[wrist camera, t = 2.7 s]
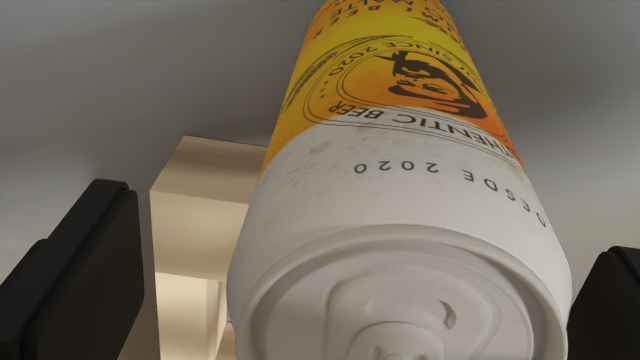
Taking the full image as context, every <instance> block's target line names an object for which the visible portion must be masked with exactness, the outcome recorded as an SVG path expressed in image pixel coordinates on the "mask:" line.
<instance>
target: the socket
mask: <svg viewBox="0 0 640 360" xmlns="http://www.w3.org/2000/svg"><path fill="white" fill-rule="evenodd" d="M267 150H268V147H262V146H255V145H248V144H241V143H235V142H228V141H221V140H214V139H207V138H200V137H193V136H186V135H184V136H183V138H182V140H181V141H180V143H179V144H178V146H177V148H176V149H175V151H174V152H173V154H172V155H171V157H170V159H169V160H168V162H167V163H166V165H165V166H164V168H163V170H162V171H161V173H160V174H159V176H158V178H157V179H156V181H155V182H154V184H153V185H152V187H151V189H150V190H149V191H150V206H151V221H152V236H153V251H154V266H155V281H156V296H157V311H158V326H159V341H160V356H161V360H237V359H236V354H235V332H234V329H233V326H232V323H230V322H226V316H227V301H226V282H227V273H228V270H229V266H230V262H231V259H232V256H233V253H234V250H235V247H236V244H237V241H238V238H239V235H240V232H241V228H242V225H243V222H244V219H245V216H246V213H247V210H248V207H249V204H250V201H251V198H252V195H253V192H254V189H255V186H256V183H257V180H258V177H259V174H260V171H261V168H262V165H263V162H264V159H265V156H266V153H267Z"/></svg>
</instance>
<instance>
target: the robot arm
mask: <svg viewBox="0 0 640 360" xmlns="http://www.w3.org/2000/svg"><path fill="white" fill-rule="evenodd" d="M143 298H144V277H143V264H142V251H141V237H140V224H139V211H138V198H137V193H136V191H134V190H129V187H128V185H127V183H126V182H121V181H113V180H106V179H95V180H93V181H92V183H91V184H90V185H89V186H88V188H87V189H86V190H85V191H84V193H83V194H82V195H81V196H80V198H79V199H78V200H77V202H76V203H75V204H74V205H73V207H72V208H71V209H70V210H69V212H68V213H67V214H66V215H65V217H64V218H63V219H62V221H61V222H60V223H59V224H58V226H57V227H56V228H55V229H54V231H53V232H52V233H51V234H50V236H49V237H48V238H47V239H41V240H39V241H37V242H36V243H35V244H34V245H33V246H32V247H31V248H30V249H29V251H28V252H27V253H26V254H25V256H24V257H23V258H22V259H21V261H20V262H19V263H18V264H17V266H16V267H15V268H14V269H13V270H12V272H11V273H10V274H9V275H8V277H7V278H6V279H5V280H4V282H3V283H2V284H1V285H0V360H117V358H118V356H119V354H120V352H121V349H122V347H123V345H124V343H125V341H126V339H127V337H128V334H129V332H130V330H131V328H132V326H133V324H134V321H135V319H136V317H137V315H138V313H139V311H140V308H141V306H142V303H143ZM566 331H567V339H568V354H567V360H640V249H637V248H629V247H621V246H612V247H611V248H610V249H608V251H607V252H602V253H601V254H600V255H599V256H598V258H597V259H596V261H595V263H594V265H593V267H592V269H591V271H590V273H589V275H588V277H587V279H586V281H585V282H584V284H583V286H582V288H581V290H580V292H579V294H578V296H577V298H576V300H575V302H574V303H573V305H572V307H571V309H570V314H569V318H568V323H567V328H566Z"/></svg>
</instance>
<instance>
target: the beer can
mask: <svg viewBox="0 0 640 360" xmlns="http://www.w3.org/2000/svg"><path fill="white" fill-rule="evenodd" d="M226 301H227V307H228V311H229V316H230V319H231V323H232V326H233V329H234V332H235V354H236V359H237V360H567V354H568V339H567V331H566V328H567V323H568V318H569V314H570V309H571V302H572V279H571V273H570V269H569V265H568V261H567V259H566V257H565V255H564V252H563V250H562V248H561V245H560V243H559V241H558V239H557V237H556V235H555V233H554V231H553V229H552V227H551V225H550V222H549V220H548V218H547V216H546V214H545V212H544V210H543V208H542V206H541V204H540V201H539V199H538V197H537V195H536V193H535V191H534V189H533V187H532V185H531V183H530V180H529V178H528V176H527V174H526V172H525V170H524V168H523V166H522V164H521V162H520V160H519V157H518V155H517V153H516V151H515V149H514V147H513V145H512V143H511V141H510V139H509V136H508V134H507V132H506V130H505V128H504V126H503V124H502V122H501V120H500V118H499V116H498V113H497V111H496V109H495V107H494V105H493V103H492V101H491V99H490V97H489V95H488V92H487V90H486V88H485V86H484V84H483V82H482V80H481V78H480V76H479V74H478V71H477V69H476V67H475V65H474V63H473V61H472V59H471V57H470V55H469V53H468V51H467V48H466V46H465V44H464V42H463V40H462V38H461V36H460V34H459V32H458V30H457V27H456V25H455V23H454V21H453V19H452V17H451V16H450V14H449V12H448V11H447V10H446V8H445V7H444V6H443V5H442V3H441V2H440V1H438V0H328V1H327V2H326V3H325V4H324V5H323V6H322V7H321V8H320V9H319V11H318V12H317V13H316V15H315V16H314V18H313V20H312V21H311V23H310V25H309V27H308V30H307V32H306V35H305V38H304V41H303V44H302V47H301V50H300V53H299V56H298V59H297V62H296V65H295V68H294V71H293V74H292V77H291V80H290V83H289V86H288V89H287V92H286V95H285V99H284V102H283V105H282V108H281V111H280V114H279V117H278V120H277V123H276V126H275V129H274V132H273V135H272V138H271V141H270V144H269V147H268V150H267V153H266V156H265V159H264V162H263V165H262V168H261V171H260V174H259V177H258V180H257V183H256V186H255V189H254V192H253V195H252V198H251V201H250V204H249V207H248V210H247V213H246V216H245V219H244V222H243V225H242V228H241V232H240V235H239V238H238V241H237V244H236V247H235V250H234V253H233V256H232V259H231V262H230V266H229V270H228V273H227V282H226Z"/></svg>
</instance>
